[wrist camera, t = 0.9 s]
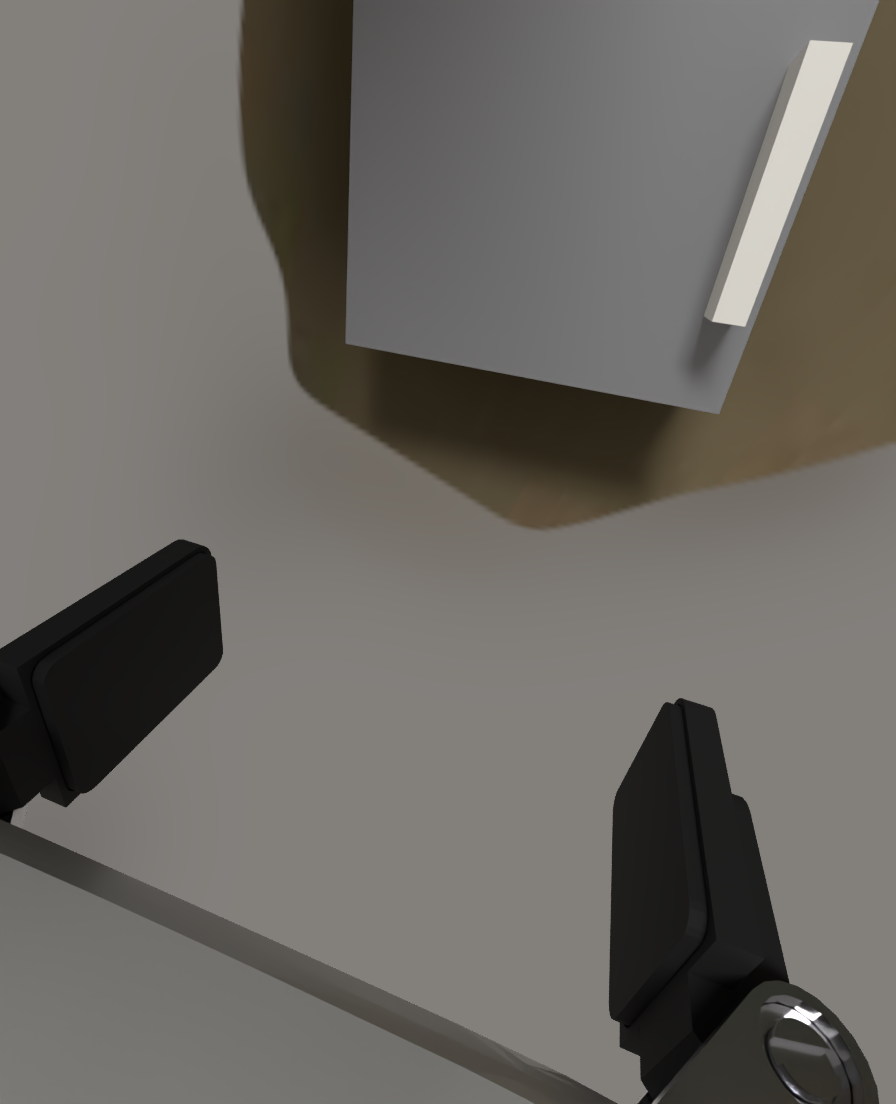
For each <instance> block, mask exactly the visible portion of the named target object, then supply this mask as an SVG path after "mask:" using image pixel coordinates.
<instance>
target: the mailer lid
mask: <svg viewBox="0 0 896 1104" xmlns="http://www.w3.org/2000/svg"><path fill="white" fill-rule="evenodd" d="M878 2H879V0H353V42H352V85H351V128H350V171H349V214H348V257H347V300H346V342H345V344H350V345H355V346H361V347H366V348H371V349H376V350H382V351H387V352H392V353H398V354H403V355H408V356H413V357H419V358H424V359H429V360H435V361H440V362H445V363H450V364H456V365H461V366H466V367H472V368H477V369H482V370H487V371H493V372H498V373H503V374H509V375H514V376H519V377H524V378H530V379H535V380H540V381H546V382H551V383H556V384H561V385H567V386H572V387H577V388H583V389H588V390H593V391H598V392H604V393H609V394H614V395H620V396H625V397H630V398H635V399H641V400H646V401H651V402H657V403H662V404H667V405H672V406H678V407H683V408H688V409H694V410H699V411H704V412H709V413H715V414H719V413H720V410H721V407H722V405H723V402H724V400H725V397H726V395H727V392H728V389H729V387H730V384H731V382H732V379H733V377H734V374H735V371H736V369H737V366H738V364H739V361H740V358H741V356H742V353H743V351H744V348H745V346H746V343H747V340H748V338H749V335H750V333H751V330H752V328H753V325H754V322H755V320H756V317H757V315H758V312H759V309H760V307H761V304H762V302H763V299H764V297H765V294H766V291H767V289H768V286H769V284H770V281H771V278H772V276H773V273H774V271H775V268H776V266H777V263H778V260H779V258H780V255H781V253H782V250H783V248H784V245H785V242H786V240H787V237H788V235H789V232H790V229H791V227H792V224H793V222H794V219H795V217H796V214H797V211H798V209H799V206H800V204H801V201H802V199H803V196H804V193H805V191H806V188H807V186H808V183H809V180H810V178H811V175H812V173H813V170H814V168H815V165H816V162H817V160H818V157H819V155H820V152H821V149H822V147H823V144H824V142H825V139H826V137H827V134H828V131H829V129H830V126H831V124H832V121H833V119H834V116H835V113H836V111H837V108H838V106H839V103H840V100H841V98H842V95H843V93H844V90H845V88H846V85H847V82H848V80H849V77H850V75H851V72H852V70H853V67H854V64H855V62H856V59H857V57H858V54H859V51H860V49H861V46H862V44H863V41H864V39H865V36H866V33H867V31H868V28H869V26H870V23H871V21H872V18H873V15H874V13H875V10H876V8H877V5H878Z"/></svg>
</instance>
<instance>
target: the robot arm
mask: <svg viewBox="0 0 896 1104" xmlns="http://www.w3.org/2000/svg"><path fill="white" fill-rule="evenodd" d="M222 654H223V644H222V633H221V619H220V606H219V594H218V581H217V568H216V561H215V558H214V557H212V556H211V552H210V551H209V549H208V548H207V547H205V546H202V545H199V544H196V543H192V542H189V541H186V540H177V541H174V542H173V543H171V544H170V545H168V546H166V547H164V548H163V549H161V550H160V551H158V552H156V553H155V554H153V555H151V556H150V557H148V558H147V559H145V560H144V561H142V562H141V563H139V564H137V565H135V566H134V567H132V568H130V569H129V570H127V571H126V572H124V573H122V574H121V575H119V576H118V577H116V578H114V579H113V580H111V581H110V582H108V583H106V584H105V585H103V586H101V587H100V588H98V589H97V590H95V591H93V592H92V593H90V594H88V595H87V596H85V597H83V598H82V599H80V600H79V601H77V602H75V603H74V604H72V605H71V606H69V607H67V608H66V609H64V610H62V611H61V612H59V613H57V614H56V615H54V616H53V617H51V618H49V619H48V620H46V621H45V622H43V623H41V624H40V625H38V626H37V627H35V628H33V629H32V630H30V631H29V632H27V633H25V634H23V635H22V636H20V637H19V638H17V639H15V640H14V641H12V642H11V643H9V644H7V645H6V646H4V647H2V648H1V649H0V1104H617V1103H615V1102H613V1101H612V1100H610V1099H608V1098H606V1097H604V1096H602V1095H600V1094H599V1093H597V1092H595V1091H593V1090H591V1089H589V1088H588V1087H586V1086H584V1085H582V1084H580V1083H578V1082H577V1081H575V1080H573V1079H571V1078H569V1077H567V1076H566V1075H563V1074H561V1073H559V1072H557V1071H555V1070H553V1069H551V1068H548V1067H547V1066H545V1065H542V1064H540V1063H538V1062H536V1061H534V1060H532V1059H530V1058H528V1057H526V1056H524V1055H522V1054H519V1053H517V1052H515V1051H513V1050H511V1049H509V1048H507V1047H505V1046H502V1045H500V1044H498V1043H496V1042H494V1041H492V1040H490V1039H488V1038H486V1037H484V1036H481V1035H479V1034H478V1033H475V1032H473V1031H471V1030H469V1029H467V1028H465V1027H463V1026H461V1025H458V1024H456V1023H454V1022H452V1021H450V1020H448V1019H445V1018H443V1017H441V1016H439V1015H437V1014H434V1013H432V1012H430V1011H428V1010H426V1009H423V1008H421V1007H419V1006H417V1005H415V1004H412V1003H410V1002H408V1001H406V1000H404V999H401V998H399V997H397V996H395V995H393V994H390V993H388V992H386V991H384V990H382V989H379V988H377V987H375V986H373V985H370V984H368V983H366V982H364V981H362V980H360V979H357V978H355V977H353V976H350V975H349V974H346V973H344V972H342V971H340V970H338V969H335V968H333V967H331V966H329V965H326V964H324V963H322V962H320V961H318V960H315V959H313V958H311V957H309V956H307V955H304V954H302V953H300V952H298V951H296V950H293V949H291V948H289V947H287V946H284V945H282V944H280V943H278V942H275V941H273V940H271V939H269V938H267V937H264V936H262V935H260V934H258V933H255V932H253V931H251V930H248V929H246V928H244V927H242V926H240V925H238V924H235V923H233V922H231V921H228V920H226V919H224V918H222V917H220V916H217V915H215V914H213V913H211V912H209V911H206V910H204V909H202V908H200V907H197V906H195V905H193V904H191V903H188V902H186V901H184V900H182V899H179V898H177V897H175V896H173V895H171V894H168V893H166V892H164V891H161V890H159V889H157V888H155V887H153V886H150V885H148V884H146V883H144V882H141V881H139V880H137V879H135V878H132V877H130V876H128V875H126V874H123V873H121V872H119V871H116V870H114V869H112V868H110V867H108V866H105V865H103V864H101V863H98V862H96V861H94V860H92V859H89V858H87V857H85V856H83V855H80V854H78V853H76V852H73V851H71V850H69V849H67V848H64V847H62V846H60V845H58V844H55V843H53V842H51V841H48V840H46V839H44V838H42V837H40V836H37V835H35V834H32V833H30V832H28V831H26V830H24V829H22V828H23V823H24V819H25V814H26V810H27V806H28V802H29V801H30V800H31V799H33V798H34V797H35V796H36V795H37V794H38V793H39V792H40V794H41V796H42V797H43V798H45V799H48V800H50V801H52V802H55V803H57V804H59V805H62V806H64V807H67V806H68V805H69V804H70V803H71V802H72V801H73V800H74V799H75V798H76V797H77V796H78V795H79V794H80V793H87V792H89V791H90V790H92V789H93V788H94V787H95V786H97V785H98V784H99V783H100V782H101V781H102V780H103V779H104V778H105V777H106V776H107V775H108V774H109V773H110V772H111V771H112V770H113V769H114V768H115V767H116V766H117V765H118V764H119V763H120V762H121V761H122V760H123V759H124V758H125V757H126V756H127V755H128V754H129V753H130V752H131V751H132V750H133V749H134V748H135V747H136V746H137V745H138V744H139V743H140V742H141V741H142V740H143V739H144V738H145V737H146V736H147V735H148V734H149V733H150V732H151V731H152V730H153V729H154V728H155V727H156V726H157V725H158V724H159V723H160V722H161V721H162V720H163V719H164V718H165V717H166V716H167V715H168V714H169V713H170V712H171V711H172V710H173V709H174V708H175V707H176V706H177V705H179V703H181V702H182V701H183V699H185V698H186V697H187V696H188V695H189V694H190V693H191V692H192V691H193V690H194V689H195V688H196V686H198V685H199V684H200V683H201V682H202V681H203V680H204V679H205V678H206V677H207V676H208V675H209V674H210V673H211V672H212V671H213V670H214V669H215V668H216V667H217V666H218V664H219V662H220V660H221V658H222ZM612 836H613V837H612V884H611V887H612V888H611V929H610V976H609V977H610V978H609V1011H610V1016H611V1018H612V1019H613V1020H615V1021H618V1022H620V1047H621V1048H623V1049H625V1050H627V1051H630V1052H632V1053H634V1054H637V1055H639V1056H640V1066H641V1067H640V1068H641V1081H642V1082H643V1084H644V1086H645V1087H646V1089H647V1090H646V1091H645V1092H644V1093H643V1094H642V1096H641V1097H640V1098H639V1099H638V1100H637V1101H636V1102H635V1104H879V1098H878V1090H877V1085H876V1083H875V1080H874V1077H873V1075H872V1072H871V1069H870V1066H869V1064H868V1061H867V1059H866V1058H865V1056H864V1054H863V1053H862V1051H861V1049H860V1047H859V1046H858V1044H857V1042H856V1040H855V1039H854V1037H853V1036H852V1034H851V1033H850V1032H849V1031H848V1030H847V1028H846V1027H845V1026H844V1025H843V1023H842V1022H841V1021H840V1020H839V1018H838V1017H837V1016H836V1015H835V1014H834V1013H833V1012H832V1011H831V1010H830V1009H829V1008H827V1007H826V1006H825V1005H824V1004H823V1003H822V1002H821V1001H820V1000H819V999H818V998H816V997H815V996H813V995H811V994H810V993H808V992H806V991H805V990H803V989H802V988H800V987H798V986H796V985H793V984H789V979H788V975H787V970H786V966H785V962H784V957H783V953H782V949H781V944H780V940H779V936H778V931H777V927H776V923H775V918H774V914H773V910H772V905H771V901H770V896H769V892H768V888H767V884H766V879H765V874H764V870H763V866H762V862H761V857H760V853H759V848H758V844H757V840H756V835H755V831H754V826H753V822H752V818H751V813H750V810H749V807H748V805H747V803H746V801H745V800H744V799H743V798H742V797H740V796H737V795H734V794H732V793H731V788H730V783H729V778H728V773H727V769H726V763H725V758H724V753H723V749H722V744H721V738H720V733H719V728H718V723H717V719H716V714H715V711H714V710H713V709H712V708H710V707H707V706H704V705H701V704H697V703H694V702H691V701H688V700H685V699H682V698H679V699H678V700H677V701H676V702H675V703H674V704H671V703H668V702H666V703H665V704H664V705H663V706H662V708H661V710H660V712H659V714H658V716H657V717H656V719H655V721H654V723H653V725H652V727H651V729H650V731H649V732H648V734H647V736H646V738H645V740H644V742H643V744H642V746H641V747H640V749H639V751H638V753H637V755H636V757H635V759H634V761H633V763H632V764H631V767H630V768H629V770H628V772H627V774H626V776H625V778H624V780H623V781H622V783H621V785H620V787H619V789H618V791H617V793H616V796H615V800H614V806H613V835H612Z"/></svg>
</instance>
